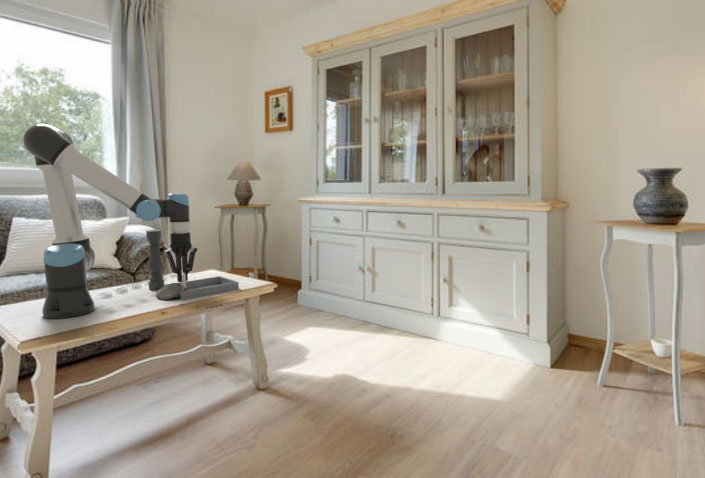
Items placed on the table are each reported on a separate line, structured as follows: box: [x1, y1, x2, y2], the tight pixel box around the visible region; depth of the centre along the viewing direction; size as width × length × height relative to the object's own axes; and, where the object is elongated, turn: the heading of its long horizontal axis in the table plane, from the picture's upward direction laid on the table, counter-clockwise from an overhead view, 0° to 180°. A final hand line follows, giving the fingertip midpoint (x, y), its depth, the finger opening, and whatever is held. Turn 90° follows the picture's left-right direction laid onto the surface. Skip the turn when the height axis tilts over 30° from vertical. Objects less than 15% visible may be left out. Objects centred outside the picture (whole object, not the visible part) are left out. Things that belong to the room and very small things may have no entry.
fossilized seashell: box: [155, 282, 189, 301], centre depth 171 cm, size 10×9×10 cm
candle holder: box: [145, 229, 165, 291], centre depth 184 cm, size 6×6×25 cm
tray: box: [164, 275, 240, 300], centre depth 181 cm, size 25×17×3 cm
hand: (183, 289), depth 176 cm, fingers closed
